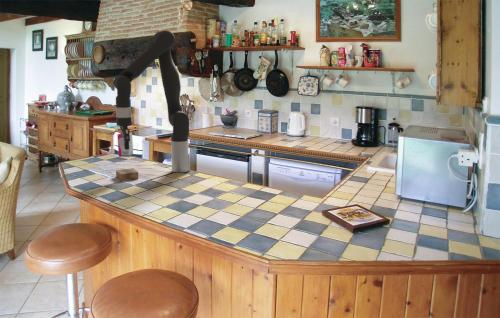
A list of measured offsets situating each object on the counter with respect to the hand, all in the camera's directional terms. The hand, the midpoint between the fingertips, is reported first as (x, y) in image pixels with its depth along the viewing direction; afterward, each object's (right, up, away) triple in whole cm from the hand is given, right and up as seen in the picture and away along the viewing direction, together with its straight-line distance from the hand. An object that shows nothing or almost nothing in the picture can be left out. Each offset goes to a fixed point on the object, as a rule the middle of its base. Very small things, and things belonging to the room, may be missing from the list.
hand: (125, 147), depth 210 cm
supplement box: (0, -4, +1) cm, 4 cm away
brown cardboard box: (0, -16, +4) cm, 16 cm away
